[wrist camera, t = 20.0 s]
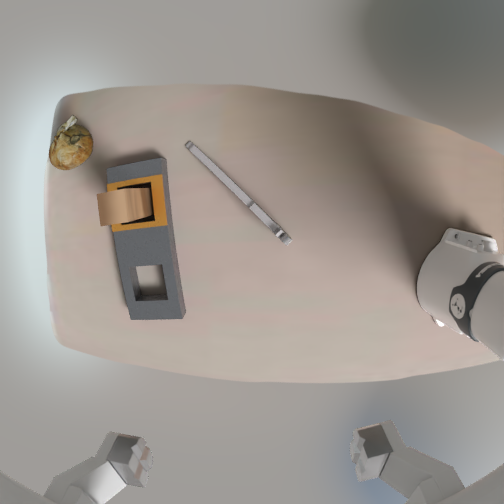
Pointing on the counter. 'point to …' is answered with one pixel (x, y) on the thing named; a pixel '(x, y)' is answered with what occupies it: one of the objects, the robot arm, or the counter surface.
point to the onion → (70, 145)
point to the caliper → (240, 194)
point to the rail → (148, 243)
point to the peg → (125, 205)
